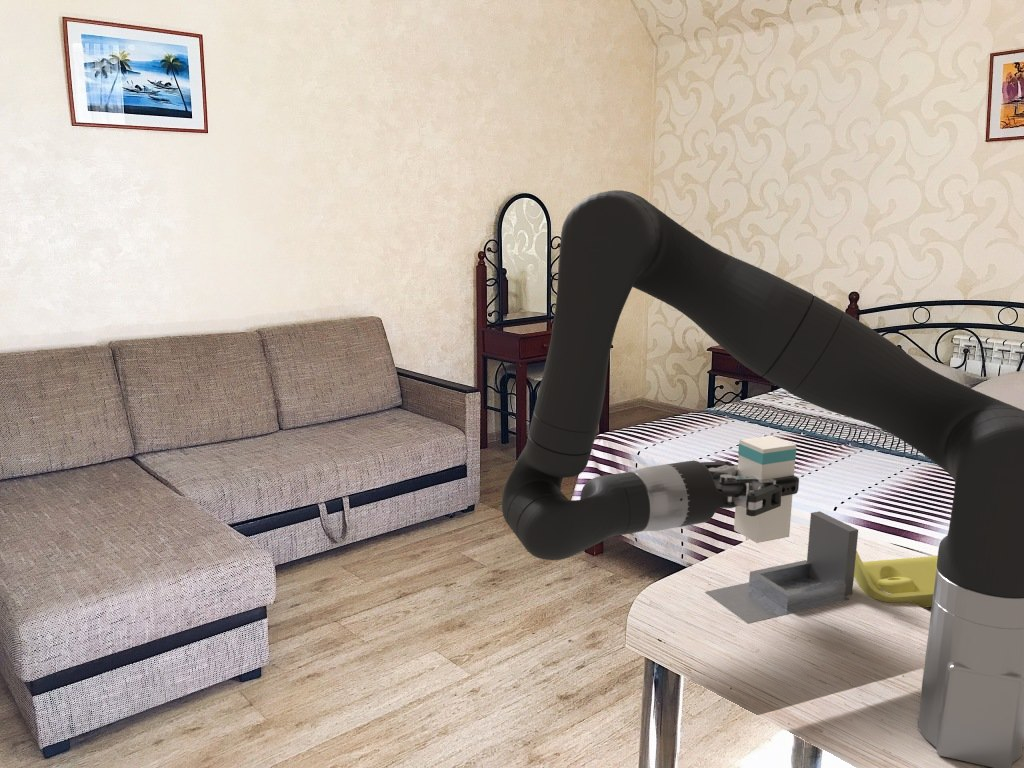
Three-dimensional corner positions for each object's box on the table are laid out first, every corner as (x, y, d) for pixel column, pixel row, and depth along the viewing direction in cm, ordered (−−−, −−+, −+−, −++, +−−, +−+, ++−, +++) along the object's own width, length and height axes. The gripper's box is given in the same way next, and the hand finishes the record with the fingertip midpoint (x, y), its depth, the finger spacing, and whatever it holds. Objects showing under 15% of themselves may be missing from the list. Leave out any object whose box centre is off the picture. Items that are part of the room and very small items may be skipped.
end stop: (842, 606, 111) (849, 531, 108) (804, 584, 117) (810, 512, 115) (851, 604, 111) (858, 529, 109) (813, 582, 118) (819, 511, 115)
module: (756, 543, 104) (763, 449, 101) (733, 530, 108) (739, 439, 106) (789, 536, 106) (796, 444, 103) (765, 524, 110) (771, 435, 107)
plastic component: (875, 599, 108) (846, 539, 116) (863, 633, 113) (836, 573, 121) (1028, 586, 108) (990, 527, 116) (1011, 620, 113) (974, 561, 121)
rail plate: (747, 634, 104) (748, 608, 103) (703, 602, 112) (705, 577, 111) (847, 610, 110) (850, 585, 109) (799, 581, 118) (801, 558, 117)
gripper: (705, 484, 93) (826, 465, 99) (636, 449, 106) (748, 434, 112) (701, 548, 94) (821, 525, 101) (634, 506, 107) (744, 488, 114)
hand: (782, 478), depth 107 cm, fingers closed on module, 4 cm apart
